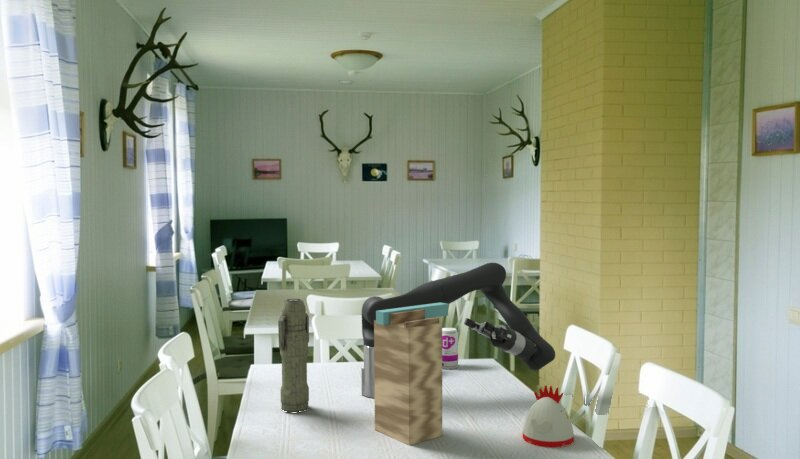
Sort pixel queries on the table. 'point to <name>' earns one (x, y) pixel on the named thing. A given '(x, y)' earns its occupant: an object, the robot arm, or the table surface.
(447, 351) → the supplement can
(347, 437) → the table surface
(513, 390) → the table surface
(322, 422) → the table surface
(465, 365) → the table surface
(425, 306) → the block
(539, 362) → the robot arm
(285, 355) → the stone statue
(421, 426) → the stand
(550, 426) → the kitchen timer
